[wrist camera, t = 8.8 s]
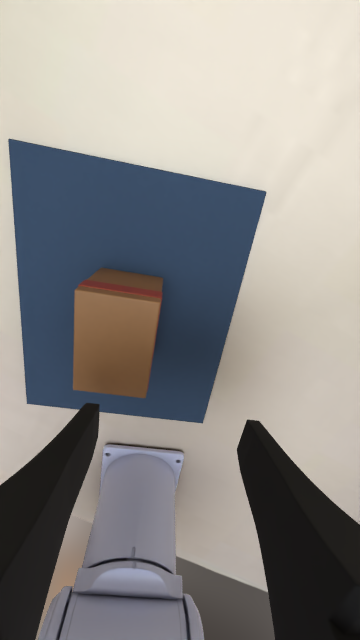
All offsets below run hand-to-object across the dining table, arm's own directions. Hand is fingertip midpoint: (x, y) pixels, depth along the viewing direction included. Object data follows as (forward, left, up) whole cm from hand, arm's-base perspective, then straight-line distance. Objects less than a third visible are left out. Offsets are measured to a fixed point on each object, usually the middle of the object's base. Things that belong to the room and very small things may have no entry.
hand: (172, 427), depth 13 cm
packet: (+2, +4, -9) cm, 10 cm away
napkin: (+2, +4, -9) cm, 10 cm away
